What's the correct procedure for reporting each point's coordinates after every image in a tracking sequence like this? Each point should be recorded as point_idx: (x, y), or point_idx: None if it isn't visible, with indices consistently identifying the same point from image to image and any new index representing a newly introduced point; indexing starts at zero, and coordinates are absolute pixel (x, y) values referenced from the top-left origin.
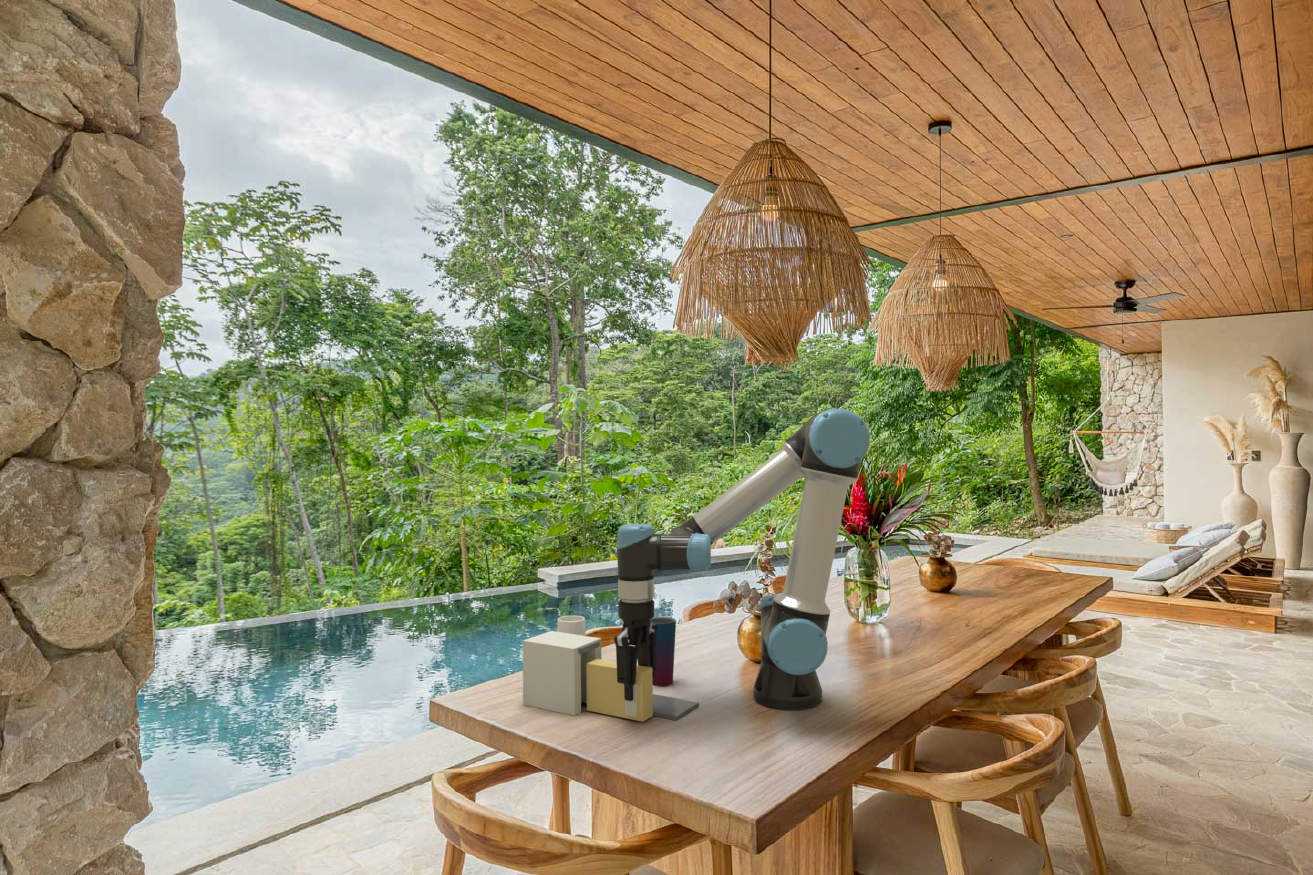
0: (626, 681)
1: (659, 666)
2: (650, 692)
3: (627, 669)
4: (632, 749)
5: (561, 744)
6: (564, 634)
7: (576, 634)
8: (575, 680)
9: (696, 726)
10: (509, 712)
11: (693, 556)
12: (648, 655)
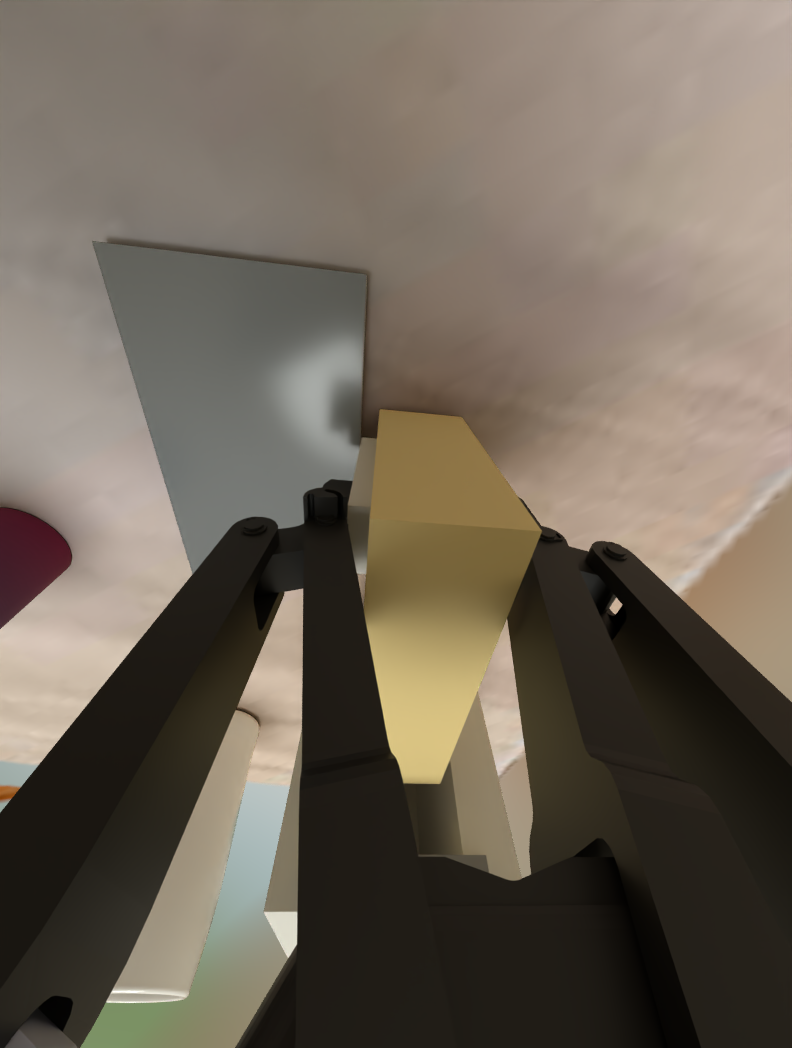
0: (633, 561)
1: None
2: (400, 446)
3: (693, 622)
4: (759, 317)
5: (690, 558)
6: None
7: (176, 901)
8: (478, 725)
9: (401, 83)
10: (487, 719)
11: None
12: (325, 635)
